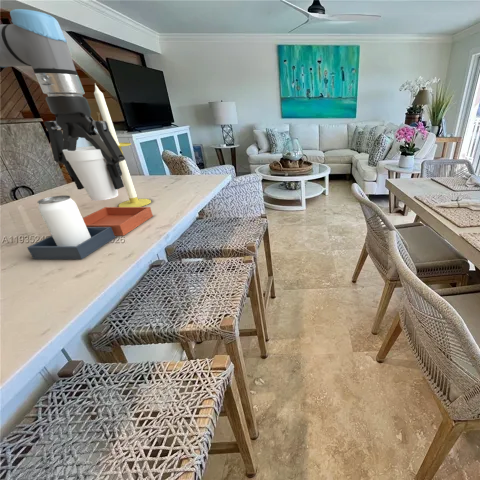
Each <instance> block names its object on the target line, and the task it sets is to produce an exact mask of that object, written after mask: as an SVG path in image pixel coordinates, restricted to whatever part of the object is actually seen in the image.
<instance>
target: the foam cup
mask: <svg viewBox="0 0 480 480" xmlns="http://www.w3.org/2000/svg"><path fill="white" fill-rule="evenodd" d="M62 151H63V153H64V155H65V158H66V160H67V161H68V162H69V163H70V165H71V167H72V168H73V170H74V172H75V173H76V175H77V177H78V178H79V180H80V182H81V183H82V185H83V187H84V188H83V189H84V190H85V192H86V194H87V195H88V197H89V199H90V200H91V201H106V200H111V199H114V198H117V197H118V196H119V189H115V188H114V185H113V182H112V180H111V177H110V174H109V172H108V169H107V166H106V165H108V162H107V161H106V159H105V158H104V157H103V156H102V153H101V150H100V149H96V148H95V147H94V146H93V145H92V146H90V145H89V146H79V147H78V146H76V150H75V151H68V150H67V149H64V150H62Z"/></svg>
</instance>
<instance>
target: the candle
mask: <svg viewBox="0 0 480 480" xmlns="http://www.w3.org/2000/svg"><path fill="white" fill-rule="evenodd" d="M93 95H94V98H95V101H96V104H97V106H98V110H99V113H100V116H101V118H102V121H106V122H107V124H108V128H109V131H110V133H111V135H112V136H113V138H114V140H115V141H116V143H117V145H118V147H119V148H120V150H121V152H122V154H123V155H124V152H123V149H122V147H128V146H131V145H132V142H119V139H118V136H117V132H116V129H115V127H114V123H113V121H112V118H111V114H110V111H109V108H108V106H107V102H106V99H105V96H104V93H103V92H102V91H101V90H100V89H99V87H98V86H97V84H96V83H94V92H93ZM119 166H120V168H121V171H122V175H121V179H122V181H123V184H124V189H125V191H126V194H127V196H128V200H125V201H122V202H121V203H119V204H118V206H117V207H146V206H148V205H149V204H151V203H152V200H151V199H150V198H138V195H137V192H136V189H135V186H134V182H133V180H132V176H131V173H130V171H129V168H128V165H127V161H126V159H125V160H123V161H121V162H119Z"/></svg>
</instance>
